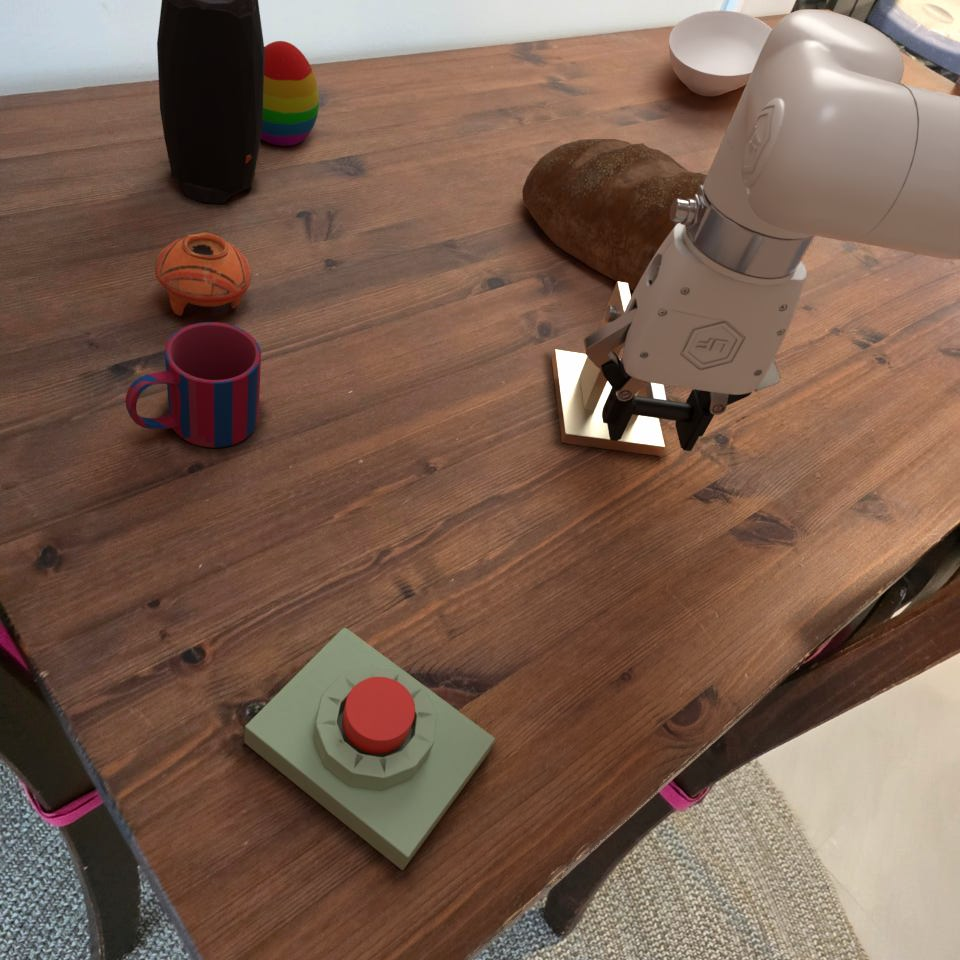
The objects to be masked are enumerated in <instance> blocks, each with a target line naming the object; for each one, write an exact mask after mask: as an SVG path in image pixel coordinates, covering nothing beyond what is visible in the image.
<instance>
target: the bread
mask: <svg viewBox="0 0 960 960" xmlns="http://www.w3.org/2000/svg"><path fill="white" fill-rule="evenodd" d="M706 176H707V174H705V173H701V172H694V171H690V170H688V169H687V168H686V167H684V166H682V165H681V164H680V163H678V162H677V161H676V160H675V159H674V158H673V157H671V156H670V155H669V154H667V153H666V152H663V151H661V150H659V149H656V148H652V147H648V146H647V145H646V144H644V143H643V142H642V143H630V142H629V141H625V140H620V139H616V138H591V139H590V138H587V139H578V140H574V141H571V142H568V143H567V142H566V143H564V144H561V145H559V146H557V147H555V148H554V149H552V150H550V151H549V152H547V153H545V154H544V155H543V156H542V157H541V158H539V160H538V161H537V162H536V163H535V165H534V166H533V167H532V168H531V170H530V171H529V173H528V174H527V176H526V179H525V181H524V184H523V186H522V201H523V204H524V205H525V207H526V209H527V210H528V212H529V213H530V215H531V216H532V218H533V219H534V221H535V222H536V223H537V225H538V226H539V227H540V229H541V230H542V232H543V233H544V234H545V235H546V237H548V238H549V240H550V241H551V242H553V243H554V245H556V246H557V247H558V248H559V249H561V250H563V251H564V252H566V253H567V254H569V255H570V256H572V257H573V258H576V260H578V261H580V262H582V263H583V264H585V265H586V266H588V267H589V268H591V269H593V270H594V271H596V272H598V273H600V274H601V275H603V276H605V277H607V278H609V279H611V280H612V281H614V282H616V283H617V281H619V282H625V283H628V285H629V289H630V291H633V292H634V291H635V289H636V287H637V285H638V283H639V281H640V279H641V277H642V275H643V274H644V272H645V270H646V268H647V267H648V265H649V263H650V262H651V260H652V258H653V257H654V255H655V254H656V252H657V251H658V249H659V248H660V246H661V245H662V243H663V242H664V240H665V239H666V238H667V236H668V235H669V234H670V232H671V231H672V230H673V228H674V227H675V226H676V225H677V224H678V223H680V222H677V221H672V220H670V217H669V215H670V208H671V205H672V202H673V201H674V199H676V198H677V199H683V200H686V199H687V198H690V199H692V198H693V196H694V195H695V194H696V191H697V189H698V187H699V185H703V183H704V181H705V179H706Z"/></svg>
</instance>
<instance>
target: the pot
mask: <svg viewBox="0 0 960 960" xmlns="http://www.w3.org/2000/svg"><path fill="white" fill-rule="evenodd" d="M154 275H155V278H156V279H157V281H158V282H159V283H160V285H161V286H163V288H165V289H166V290H167V292H168V297H169V303H170V306H171V309H172V311H173V313H174V315H176V316H182V315H183V314H184V311H185V307H186V306H187V305H188V304H190V305H195V306H198V307H219V306H223V305H226V304H229V303H231V305H230V306H231V308H232V309H235V308H236V307H238V306H239V305H240V304H241V301H242V299H243V297H244V294H245V293H246V292H247V290H248V289H249V287H250V284H251V281H252V269H251V265H250V263H249V262H248V260H247V258H246V257H245V256H244V254H243V253H242V252H241V251H240V250H239V249H238V248H237V247H236V246H234V245H233V244H232V243H230V242H228V241H226V240H225V239H224V238H223V237H221V236H220V235H217V234H215V233H210V232H199V233H195V234H188V235H186V236H183V237H180V238H178V239H176V240H173V241H172V242H170V243H169V244H167V245H166V246H165V247H164V248H163V249H162V250H161V251H160V252H159V253H158V254H157V257H156V258H155V260H154Z"/></svg>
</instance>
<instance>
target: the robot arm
mask: <svg viewBox="0 0 960 960" xmlns="http://www.w3.org/2000/svg"><path fill="white" fill-rule="evenodd" d="M771 29H772V30H771V32H770V34H769V36H768V38H767V40H766V42H765V44H764V46H763V48H762V50H761V52H760V55H759V57H758V59H757V62H756V64H755V66H754V69H753V71H752V73H751V75H750V78H749V80H748V82H747V84H746V85H745V87H744V90H743V92H742V94H741V96H740V99H739V101H738V103H737V106H736V107H735V110H734V113H733V114H732V117H731V119H730V121H729V124H728V125H727V126H728V127H727V129H726V131H725V132H724V135H723V138H722V140H721V142H720V145H719V147H718V149H717V151H716V154H715V155H714V157H713V161H712V163H711V165H710V167H709V170H708V171H707V173H706V175H707V176H706V179H705V181H704V183H703V185H699V187H698V189H697V191H696V194H695V195H694V196H693V198H692V199H690V198H687V199H686V200H683V199H677V198H676V199H674V201H673V202H672V205H671V208H670V215H669V217H670V220H672V221H677V222H680V223H678V224H677V225H676V226H675V227H674V228H673V230H672V231H671V232H670V234H669V235H668V236H667V238H666V239H665V240H664V242H663V243H662V245H661V246H660V248H659V249H658V251H657V252H656V254H655V255H654V257H653V258H652V260H651V262H650V263H649V265H648V267H647V268H646V270H645V272H644V274H643V275H642V277H641V279H640V281H639V283H638V285H637V287H636V289H635V291H633V292H632V294H631V299H630V301H629V303H628V305H627V307H626V309H625V312H624V314H623V315H622V316H620V317H619V318H617V319H615V320H614V321H612V322H610V323H609V324H607V325H605V326H604V327H602V328H601V329H599V330H598V329H597V330H596V331H594V332H592V333H590V334H589V335H587V336H586V337H585V338H584V339H583V347H584V354H586V355H587V357H588V358H589V359H590V360H591V361H592V362H593V363H594V364H595V365H596V366H597V367H599V368H600V370H601V371H602V373H603V375H604V377H605V378H606V380H607V381H608V382H609V384H610V385H611V386H612V388H611V391H610V393H609V395H608V397H607V400H606V402H605V404H604V407H603V410H602V419H603V423H606V424H607V426H608V431H609V437H610V440H611V441H618V440H620V439H621V438H622V435H623V433H624V431H625V429H626V427H627V425H628V423H629V421H630V419H631V416H632V414H633V412H634V410H635V408H636V401H635V397H634V395H635V394H636V393H637V392H638V391H639V390H640V389H641V388H642V387H643V386H644V384H645V383H646V382H650V383H656V384H663V385H664V386H668V387H669V386H670V387H677V388H683V389H689V390H691V391H690V393H689V395H688V397H687V399H686V401H685V403H690V404H692V405H693V416H692V419H691V421H690V422H681V421H675V424H674V426H675V430H676V434H677V439H678V441H679V446H680V449H682V450H683V451H685V452H691V451H692V450H693V449H694V447H695V445H696V443H697V442H698V439H699V438H701V437H703V436H704V435H705V432H706V431H707V429H708V427H709V425H710V424H711V422H712V421H713V418H714V417H715V416H718V415H721V414H723V413H725V412H726V411H727V407H728V406H729V405H733V403H736V402H739V401H740V400H743V399H745V398H747V397H749V396H751V395H752V393H753V392H754V391H755V392H758V391H761V390H764V389H767V388H769V387H772V386H775V385H777V384H779V383H780V382H781V380H782V377H781V374H780V371H779V368H778V366H777V365H778V364H777V362H776V360H775V358H776V356H777V355H778V352H779V351H780V348H781V347H782V343H783V342H784V340H785V338H786V335H787V333H788V331H789V329H790V327H791V324H792V321H793V319H794V316H795V313H796V311H797V308H798V306H799V305H798V304H799V302H800V299H801V295H802V292H803V290H804V286H805V282H806V280H807V275H808V271H807V267H806V266H805V264H804V263H803V262H802V261H803V258H804V257H805V255H806V253H807V251H808V249H809V248H810V246H811V244H812V243H813V241H814V239H815V237H821V238H825V239H830V240H836V241H842V242H852V243H857V244H863V245H868V246H873V247H878V248H882V249H883V248H885V249H889V250H895V251H901V252H904V253H911V254H916V255H920V256H924V257H925V256H926V257H931V258H935V259H936V258H937V259H942V260H953V261H954V260H955V261H957V260H958V261H960V95H955V94H950V93H946V92H941V91H937V90H932V89H928V88H923V87H919V86H915V85H910V84H906V83H902V80H903V76H904V71H905V63H904V61H905V60H904V56H903V55H902V52H901V50H900V48H899V46H897V44H896V43H895V42H894V41H892V40H891V39H890V38H889V37H888V36H887V35H886V34H884V33H883V32H882V31H880V30H878V29H877V28H875V27H874V26H871V25H869V24H868V23H865V22H863V21H861V20H859V19H856V18H853V17H851V16H848V15H845V14H841V13H839V12H834V11H830V10H825V9H812V8H811V9H808V8H807V9H803V8H802V9H798V10H795V11H792V12H790V13H787V14H786V15H785V16H783V17H782V18H781V19H779V20H778V21H777V22H776V24H775V25H774V26H773V28H771ZM623 343H624V344H623ZM621 344H623V350H622V356H621V358H620V357H619V356H617V355H616V353H615V352H613V351H611V350H612V349H614V348H616V347H617V346H619V345H621ZM620 359H621V360H620Z"/></svg>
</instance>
